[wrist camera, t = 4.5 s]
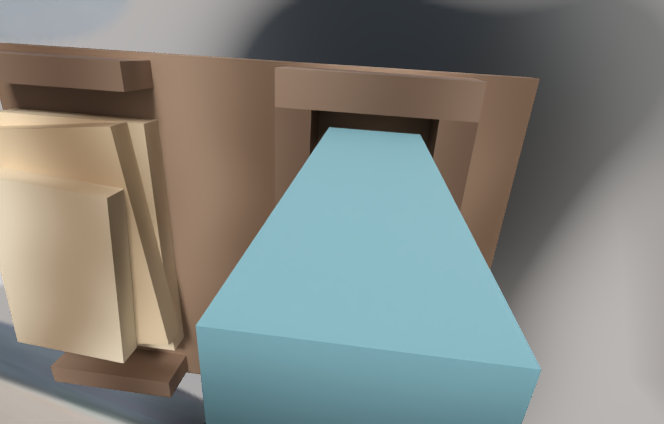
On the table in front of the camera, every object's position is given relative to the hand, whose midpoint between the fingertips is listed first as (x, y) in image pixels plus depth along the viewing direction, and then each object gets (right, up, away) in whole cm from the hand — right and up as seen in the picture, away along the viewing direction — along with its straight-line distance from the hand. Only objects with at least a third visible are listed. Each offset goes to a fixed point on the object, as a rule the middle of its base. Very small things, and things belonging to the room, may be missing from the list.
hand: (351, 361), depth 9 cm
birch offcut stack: (-9, +3, +5) cm, 11 cm away
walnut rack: (-3, +3, +5) cm, 7 cm away
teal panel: (0, +1, +3) cm, 3 cm away
